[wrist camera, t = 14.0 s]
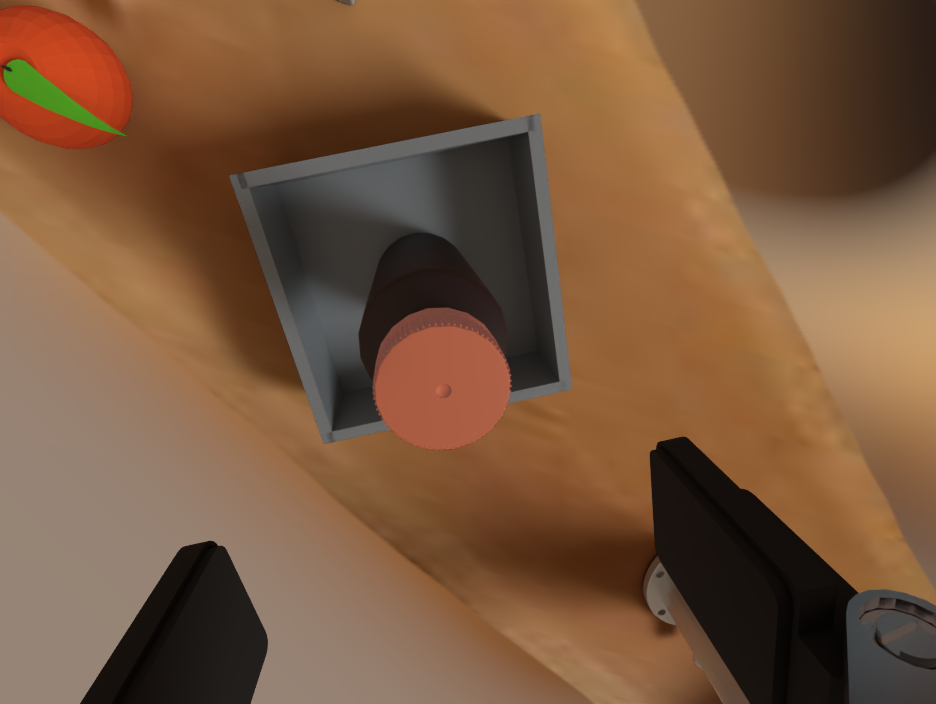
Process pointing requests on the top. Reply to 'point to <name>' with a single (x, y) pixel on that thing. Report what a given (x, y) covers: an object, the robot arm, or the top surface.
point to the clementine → (60, 80)
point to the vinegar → (434, 345)
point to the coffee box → (347, 1)
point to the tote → (397, 215)
